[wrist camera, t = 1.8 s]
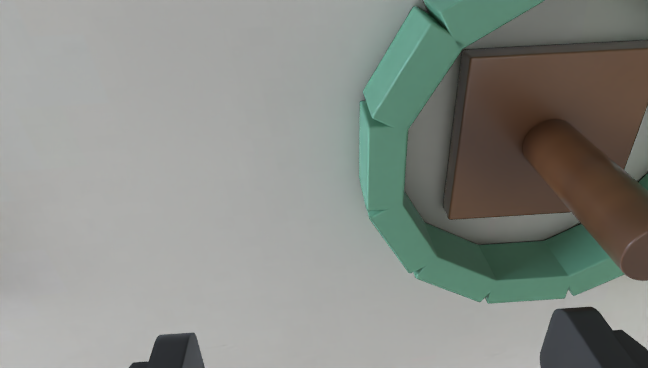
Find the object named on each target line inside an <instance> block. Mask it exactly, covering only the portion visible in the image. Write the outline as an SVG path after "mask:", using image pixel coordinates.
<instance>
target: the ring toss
mask: <svg viewBox="0 0 648 368" xmlns="http://www.w3.org/2000/svg"><path fill="white" fill-rule="evenodd" d="M647 105H648V40H640V41H621V42H602V43H583V44H564V45H544V46H525V47H506V48H487V49H468V50H463V51H462V57H461V65H460V73H459V81H458V89H457V97H456V105H455V113H454V121H453V129H452V137H451V145H450V153H449V162H448V170H447V178H446V186H445V194H444V202H443V208H444V210H445V212H446V214H447V217H448V219H450V220H453V219H469V218H485V217H501V216H518V215H534V214H550V213H566V212H572V213H573V215H574V216H575V217H576V218H577V219H578V220H579V222H580V223H581V224H582V225H583V226H584V228H585V229H586V230H587V231H588V232H589V233H590V235H591V236H592V237H593V238H594V239H595V240H596V242H597V243H598V244H599V245H600V246H601V247H602V249H603V250H604V251H605V252H606V253H607V254H608V256H609V257H610V258H611V259H612V260H613V261H614V263H615V264H616V265H617V266H618V267H619V269H620V270H621V271H622V272H623V273H624V274H625V275H626V276H628V277H629V278H632V279H635V280H642V281H643V280H648V190H646V189H645V188H644V187H643V186H642V185H641V184H639V183H638V182H637V181H636V180H635V179H634V178H632V177H631V176H630V175H629V174H628V173H627V172H625V171H624V169H625V166H626V163H627V161H628V158H629V155H630V152H631V150H632V147H633V144H634V141H635V138H636V136H637V133H638V130H639V127H640V125H641V122H642V119H643V116H644V114H645V111H646V108H647Z"/></svg>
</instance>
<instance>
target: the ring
mask: <svg viewBox="0 0 648 368" xmlns="http://www.w3.org/2000/svg"><path fill="white" fill-rule="evenodd" d="M423 1H424V3H425V5H426V7H427V9H428V11H429V13H430V14H428V13H427V12H425V11H423V10H421V9H420V8H418V7H416V6H414V7H413V8H412V10H411V11H410V13H409V15H408V16H407V18H406V20H405V21H404V23H403V25H402V26H401V28H400V30H399V31H398V33H397V35H396V37H395V38H394V40H393V42H392V43H391V45H390V47H389V48H388V50H387V52H386V53H385V55H384V57H383V58H382V60H381V62H380V63H379V65H378V67H377V68H376V70H375V72H374V73H373V75H372V77H371V78H370V80H369V82H368V83H367V85H366V87H365V89H364V90H363V93H364V96H365V99H366V101H360V137H359V179H360V183H361V188H362V192H363V196H364V201H365V205H366V209H367V211H368V215H369V219H370V220H371V222H372V223H373V225H374V226H375V227H376V229H377V230H378V231H379V233H380V234H381V236H382V237H383V238H384V240H385V241H386V242H387V244H388V245H389V247H390V248H391V249H392V251H393V252H394V253H395V255H396V256H397V258H398V259H399V260H400V262H401V263H402V264H403V266H404V267H405V269H406V270H407V271H408V273H412V272H414V275H415V278H417V279H419V280H422V281H425V282H427V283H430V284H432V285H435V286H438V287H440V288H443V289H446V290H448V291H451V292H454V293H456V294H459V295H462V296H464V297H467V298H470V299H472V300H475V301H478V302H481V301H482V300H483V299H484V298H485V299H486V301H487V303H504V302H519V301H534V300H549V299H564V298H565V296H566V294H567V291H568V290H569V291H570V293H571V294H572V295H573V296H575V295H577V294H579V293H582V292H584V291H586V290H589V289H591V288H594V287H596V286H598V285H601V284H603V283H605V282H608V281H610V280H612V279H615V278H617V277H620V276H622V275H624V273H623V272H622V271H621V270H620V269H619V267H618V266H617V265H616V264H615V263H614V261H613V260H612V259H611V258H610V257H609V256H608V254H607V253H606V252H605V251H604V250H603V249H602V247H601V246H600V245H599V244H598V243H597V242H596V240H595V239H594V238H593V237H592V236H591V235H590V233H589V232H588V231H587V230H586V229H585V228H584V226H583V225H582V224H580V225H578V226H575V227H573V228H571V229H569V230H567V231H565V232H562V233H560V234H558V235H556V236H554V237H552V238H549V239H547V240H545V241H534V242H518V243H502V244H486V245H477V244H474V243H472V242H470V241H467V240H465V239H463V238H460V237H458V236H456V235H453V234H451V233H448V232H446V231H444V230H441V229H439V228H437V227H434V226H432V225H429V224H427V223H425V222H424V221H423V219H422V218H421V216H420V215H419V213H418V212H417V210H416V209H415V207H414V206H413V204H412V202H411V201H410V199H409V198H408V196H407V195H406V193H405V192H404V185H405V171H406V156H407V141H408V129H409V128H410V126H411V125H412V123H413V122H414V120H415V119H416V117H417V116H418V114H419V113H420V111H421V110H422V108H423V107H424V106H425V104H426V103H427V101H428V100H429V98H430V97H431V95H432V94H433V92H434V91H435V89H436V88H437V86H438V85H439V83H440V82H441V80H442V79H443V77H444V76H445V75H446V73H447V72H448V70H449V69H450V67H451V66H452V64H453V63H454V61H455V60H456V58H457V57H458V55H459V54H460V52H461V51H462V49H463V48H465V47H467V46H468V45H470V44H472V43H473V42H475V41H477V40H479V39H480V38H482V37H484V36H485V35H487V34H489V33H490V32H492V31H494V30H495V29H497V28H499V27H501V26H502V25H504V24H506V23H507V22H509V21H511V20H512V19H514V18H516V17H517V16H519V15H521V14H523V13H524V12H526V11H528V10H529V9H531V8H533V7H534V6H536V5H538V4H539V3H541V2H543V1H545V0H423ZM638 183H639V184H641V185H642V186H643V187H644V188H645V189H646V190H648V173H647V174H646V175H645V176H644V177H643V178H642V179H641V180H640V181H639V182H638Z"/></svg>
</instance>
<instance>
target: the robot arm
mask: <svg viewBox="0 0 648 368" xmlns="http://www.w3.org/2000/svg"><path fill="white" fill-rule="evenodd" d="M540 365H541V368H648V350H647V349H646V348H645V347H643V346H642V345H641V344H639V343H638V342H637V341H636V340H634V339H633V338H632V337H630V336H629V335H628V334H626V333H625V332H624V331H623V330H612V329H611V327H610V326H609V325H608V323H607V322H606V321H605V319H604V318H603V316H602V315H601V314H600V313H599V311H597V310H596V309H595V308H593V307H579V308H565V309H556V310H555V311H554V312H553V314H552V317H551V320H550V324H549V327H548V330H547V333H546V336H545V339H544V343H543V346H542V349H541V352H540ZM129 368H205V367H204V363H203V359H202V356H201V352H200V348H199V345H198V341H197V337H196V335H195V333H181V334H166V335H159V336H158V337H157V339H156V341H155V344H154V347H153V350H152V353H151V356H150V360H149V362H136V363H132V365H131V366H130V367H129Z"/></svg>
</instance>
